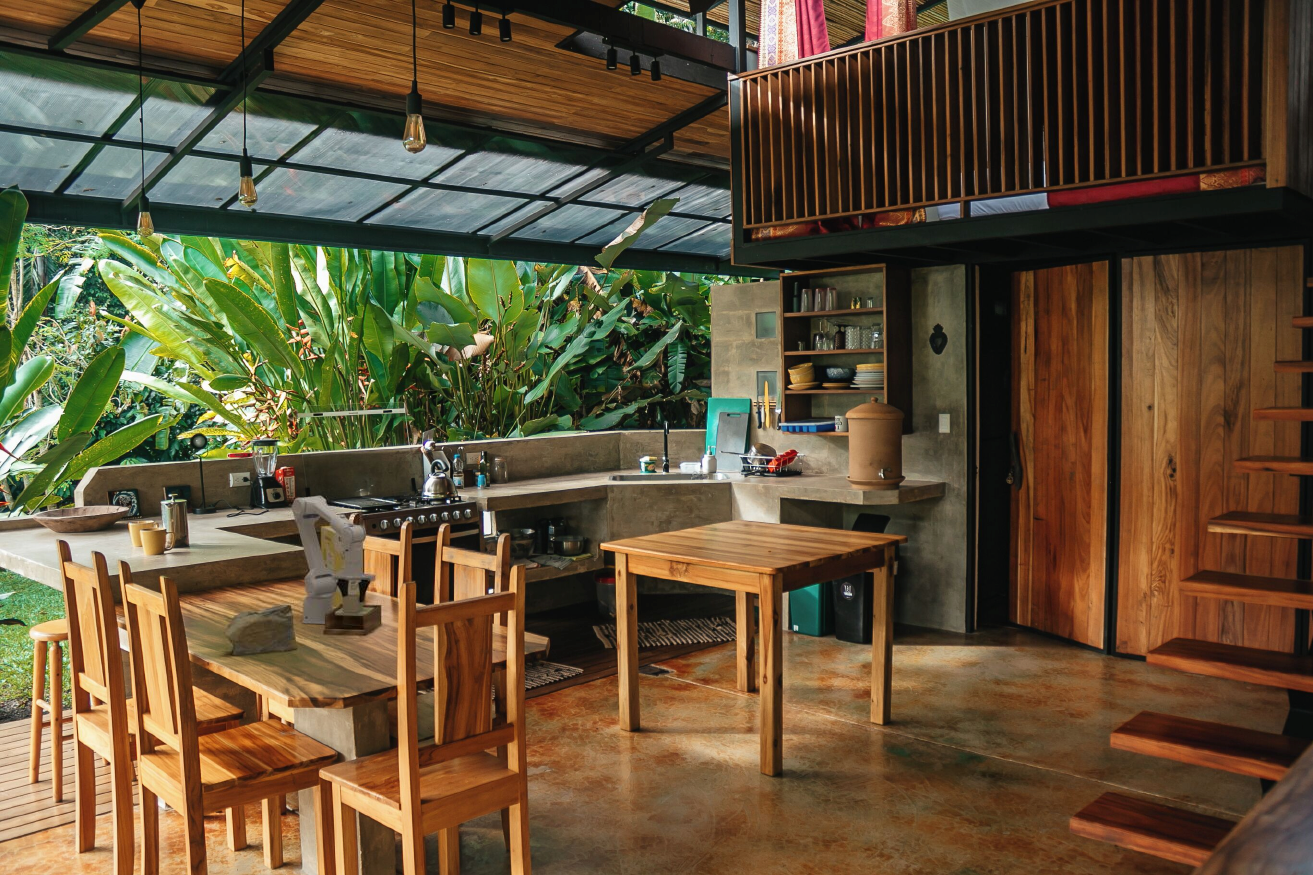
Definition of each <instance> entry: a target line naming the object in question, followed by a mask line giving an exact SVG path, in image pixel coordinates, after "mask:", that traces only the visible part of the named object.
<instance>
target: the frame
mask: <svg viewBox="0 0 1313 875" xmlns="http://www.w3.org/2000/svg"><path fill="white" fill-rule="evenodd" d="M342 607H343V604H340V605H339V607H334V608H333V610H331V611H330V612H328V613H326V614H325V624H324V629H322V630H323V635H329V636H330V635H334V636H335V635H336V636H361V637H362V636H363V637H365V636H367V635H369V634H370V633H372V632H373V631H374V630H377V629H379V627H380V626H382V604H365V603H363V607H365V608H374V609H373V610H371V611H370V612H368V613H366V614H365V615H363V616H350V615H335V612H336V611H338V610H339V609H341V608H342ZM342 626H363V629H340V627H342ZM338 628H339V629H338Z"/></svg>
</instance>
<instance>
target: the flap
mask: <svg viewBox="0 0 1313 875" xmlns="http://www.w3.org/2000/svg"><path fill="white" fill-rule="evenodd" d="M373 609H374V608H365V607H363V610H361V611H359V612H358V613H349V612H343V607H342V608H341V609H339V610H338V611H336V612H335V615H350V616H363V615H365V614H366V613H368V612H370V611H371V610H373Z"/></svg>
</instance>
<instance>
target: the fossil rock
mask: <svg viewBox="0 0 1313 875" xmlns="http://www.w3.org/2000/svg"><path fill="white" fill-rule="evenodd" d="M223 634H224V635H225V637H226V638H227V639H228V640H229V642H230V644H232V649H231V656H232V657H234V656H242V655H243V656H244V655H255V654H264V653H273V652H275V653H276V652H289V651H295V650H297V649H298V647H297V646H298V645H297V639H296V633H295V628H294V615H293V610H292V605H290V604H283V605H274V606H272V607H267V608H266V609H260V610H258V611H254V610H252V611H245V612H241V613H239V614H236V615H234V616H233V617H232V618H231V620H230V622H229V624H228V626H227V627H226V628H225V629H224V631H223Z"/></svg>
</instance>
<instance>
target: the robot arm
mask: <svg viewBox="0 0 1313 875" xmlns="http://www.w3.org/2000/svg"><path fill="white" fill-rule="evenodd" d="M291 509H292V513H293V517H294V521H295V524H296V526H297V528H298V529H297V530H298V532H299V533H298V534H299V535H300V540H301V544H302V547H303V550H304V556H305V559H306V563H307V566H308V569H309V572H307V574H306V575H305V577H304V583H305V584H304V585H305V586H304V589H305V592H306V594H307V595H306V596H305V597H304V599H303V602H302V622H301V623H302V624H309V625H310V624H312V625H313V624H315V625H325V614H326V613H328V612H330V611H331V610H333V609H334V606H333V595H335V594H334V593H335V592H336V591H337V588H338V587H339V589H340V591H341V594H342V597H345V596H347V595H348V585H349V580H358V581H361V582H358V585H359V592H360V597H359V600H360V602H363V603H364V602H365V598H366V594H367V590H368V589H369V586H370V585H371V582H375V581H376V574H370V573H364V572H363V573H362V542H363V543H364V541H365V540H366V538H367V532H366V529H365V527H363V525H361V524H355V523H354V522H353V521H351V520H350V519H349V518H347V516H346V515H345V514H338V513H336V512H335V511H334V510H333V509H332V508H331V507H330V506H329V505H328V503H327V499H326V498H324V497H323V496H322V495H315V496H307V497H306V496H305V497H296V498H295V499H294V500H293V503H292V505H291ZM320 518H323V519H324V520H325V521H326V522H329V526H330V527H331V528H332V529H333V530H334V531H335V532H337V533H338V534H339V535H340V536H341V540H342V542H343V547H344V549H345V573H341V574H333V571H332V570H330V569H328V568H327V567H325V563H324V560H323V556H322V553H321V544H320V542H319V538H318V535H317V532H316V531H317V530H316V528H315V523H316V522H317V521H319V519H320ZM337 580H338V581H337Z"/></svg>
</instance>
